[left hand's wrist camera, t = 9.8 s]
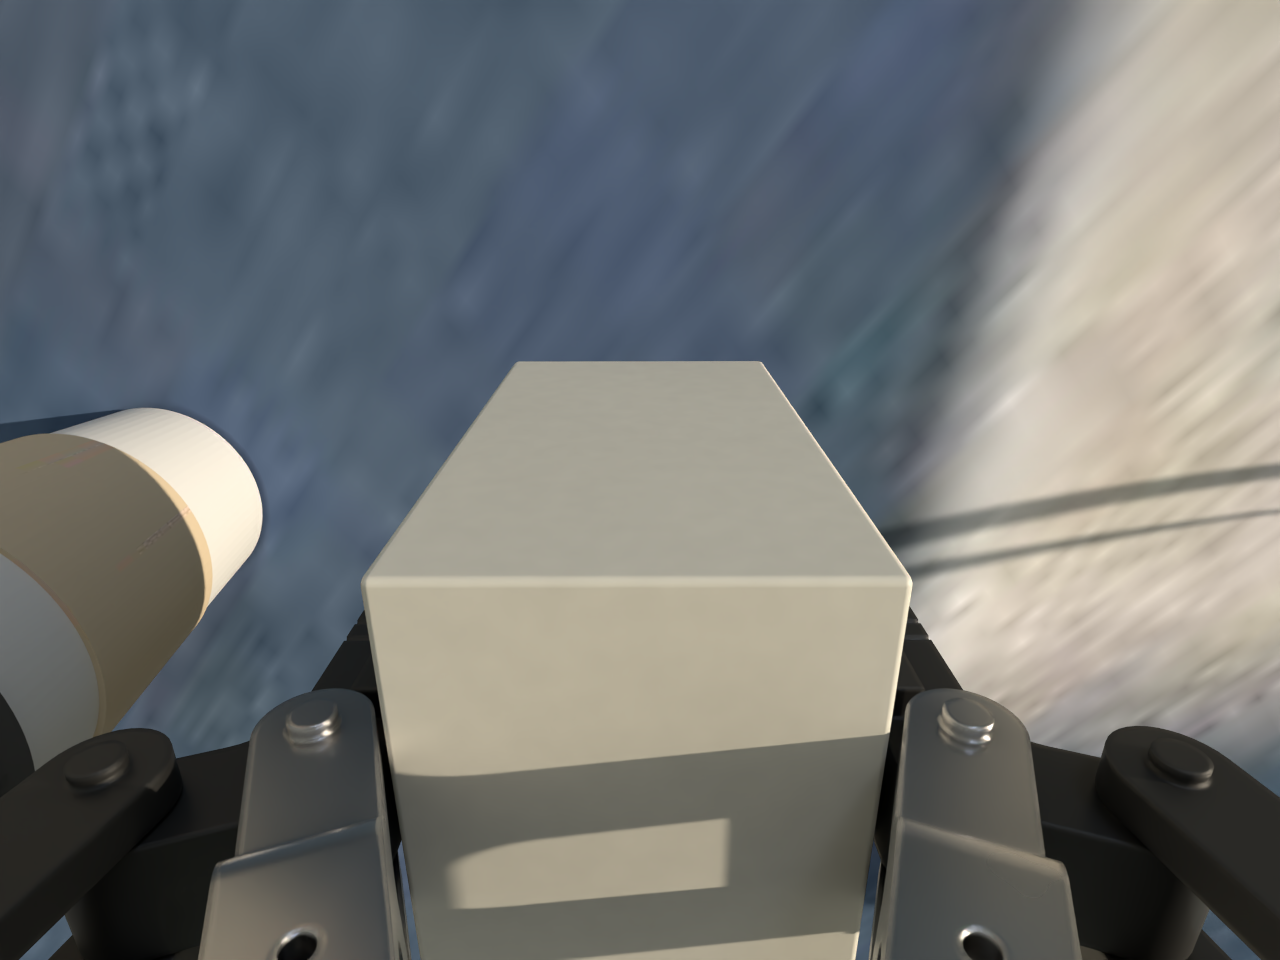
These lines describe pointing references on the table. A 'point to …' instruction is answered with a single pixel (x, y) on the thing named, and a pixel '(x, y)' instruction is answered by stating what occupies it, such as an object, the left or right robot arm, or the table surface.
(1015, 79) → the table surface
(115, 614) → the coffee cup
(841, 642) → the bar
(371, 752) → the left robot arm
